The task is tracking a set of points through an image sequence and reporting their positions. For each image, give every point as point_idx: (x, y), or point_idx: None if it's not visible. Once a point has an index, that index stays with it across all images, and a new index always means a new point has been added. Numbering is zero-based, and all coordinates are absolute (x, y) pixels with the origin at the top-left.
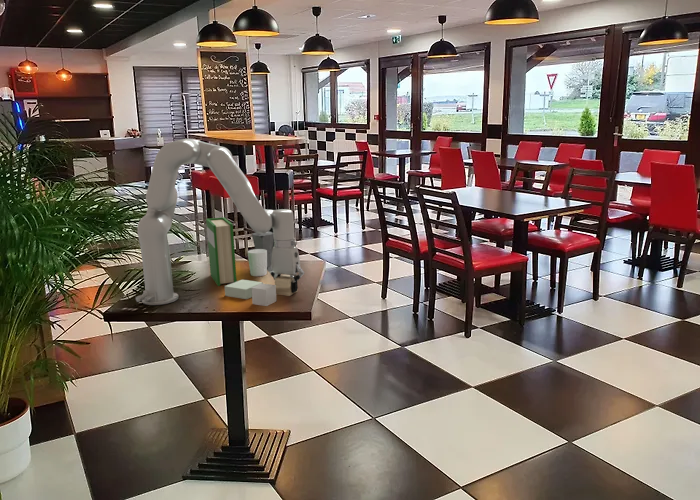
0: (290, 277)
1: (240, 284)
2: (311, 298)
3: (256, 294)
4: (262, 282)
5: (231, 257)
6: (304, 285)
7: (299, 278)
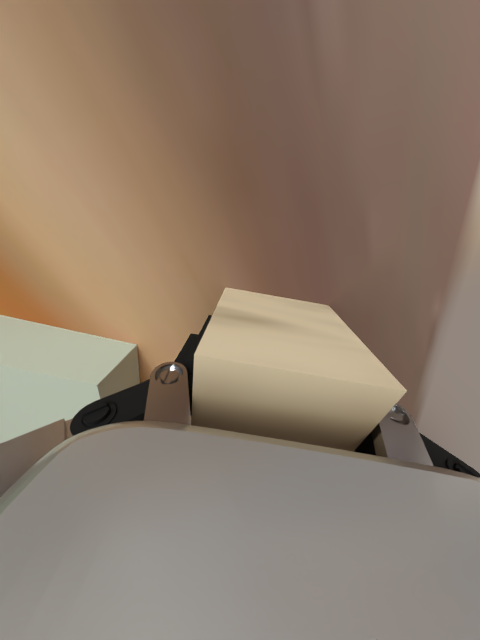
0: (326, 437)
1: (19, 424)
2: (419, 396)
3: None
4: (92, 384)
5: None
6: (366, 107)
7: (432, 450)
